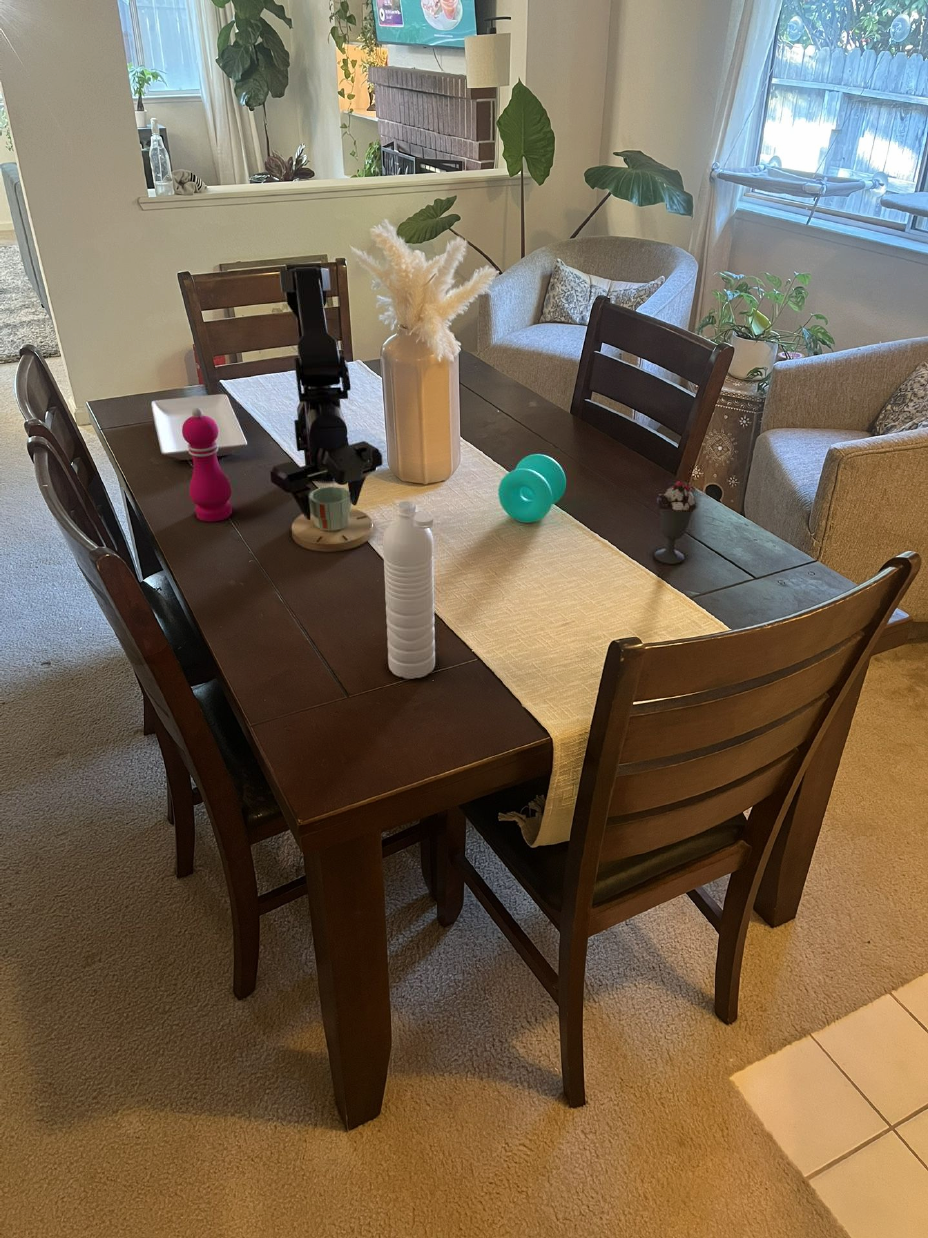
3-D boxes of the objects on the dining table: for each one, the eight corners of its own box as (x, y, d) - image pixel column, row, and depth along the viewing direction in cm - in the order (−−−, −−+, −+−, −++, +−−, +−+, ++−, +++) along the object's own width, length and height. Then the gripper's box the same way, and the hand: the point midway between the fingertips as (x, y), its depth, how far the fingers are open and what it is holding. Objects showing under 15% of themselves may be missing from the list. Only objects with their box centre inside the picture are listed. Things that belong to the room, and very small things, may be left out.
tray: (228, 406, 211) (226, 391, 209) (249, 458, 187) (247, 442, 185) (152, 414, 206) (149, 399, 204) (164, 469, 182) (161, 453, 180)
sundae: (691, 550, 156) (705, 469, 147) (686, 569, 150) (700, 485, 142) (652, 544, 158) (664, 463, 149) (646, 562, 152) (657, 479, 144)
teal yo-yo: (494, 518, 165) (496, 467, 160) (516, 497, 173) (518, 447, 167) (546, 530, 162) (550, 478, 156) (566, 507, 169) (570, 457, 164)
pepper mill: (222, 525, 162) (204, 417, 151) (186, 520, 164) (165, 413, 153) (241, 507, 168) (225, 402, 157) (206, 502, 170) (188, 398, 158)
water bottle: (380, 660, 129) (371, 499, 115) (421, 647, 131) (417, 488, 118) (409, 694, 122) (404, 527, 109) (451, 679, 125) (451, 515, 111)
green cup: (337, 510, 164) (335, 482, 160) (359, 525, 159) (357, 496, 156) (304, 521, 160) (301, 492, 157) (325, 536, 155) (323, 507, 152)
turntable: (304, 511, 167) (303, 503, 166) (380, 516, 166) (379, 508, 165) (282, 548, 155) (281, 540, 154) (363, 554, 154) (363, 545, 153)
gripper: (298, 455, 139) (307, 545, 148) (399, 427, 149) (402, 513, 158) (263, 433, 147) (274, 520, 155) (362, 407, 156) (366, 491, 165)
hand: (331, 511), depth 158 cm, fingers open, 9 cm apart
